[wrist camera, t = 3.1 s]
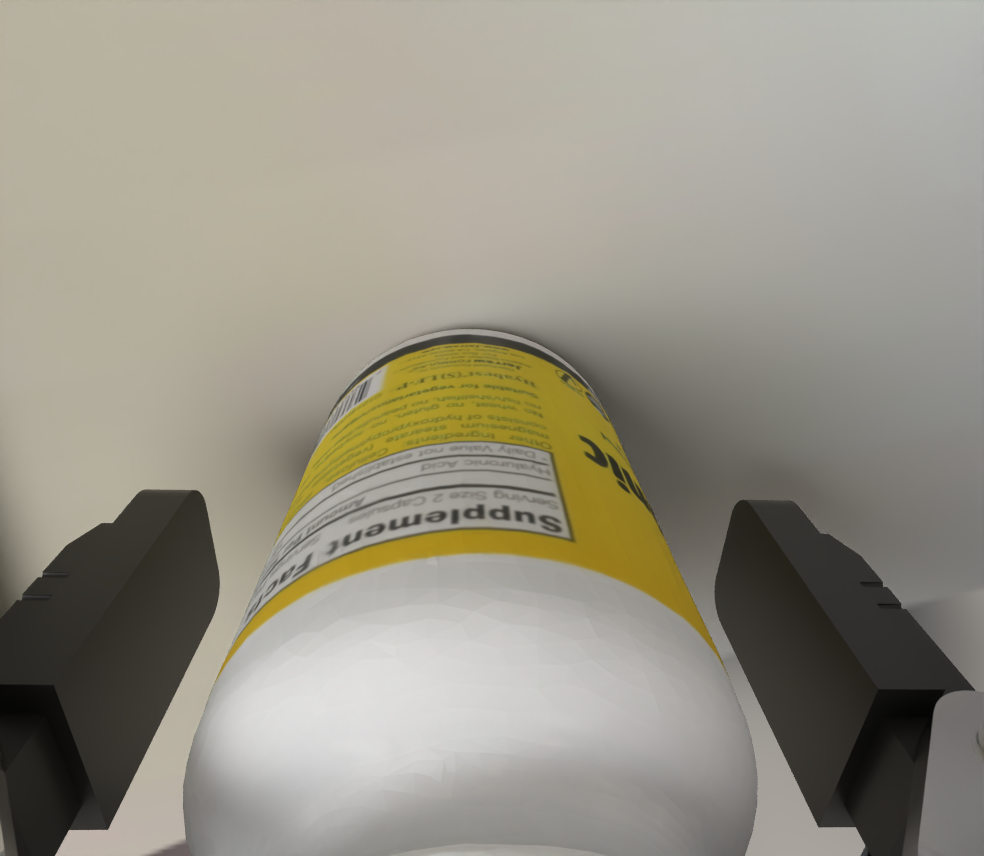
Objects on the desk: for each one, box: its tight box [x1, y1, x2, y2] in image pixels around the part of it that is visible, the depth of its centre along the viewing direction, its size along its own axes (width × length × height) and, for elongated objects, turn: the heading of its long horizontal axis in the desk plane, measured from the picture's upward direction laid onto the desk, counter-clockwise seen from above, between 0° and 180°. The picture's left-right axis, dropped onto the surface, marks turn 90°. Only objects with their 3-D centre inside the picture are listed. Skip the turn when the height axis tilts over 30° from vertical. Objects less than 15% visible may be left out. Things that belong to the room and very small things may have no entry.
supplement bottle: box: [183, 329, 757, 856], centre depth 8 cm, size 5×5×10 cm
